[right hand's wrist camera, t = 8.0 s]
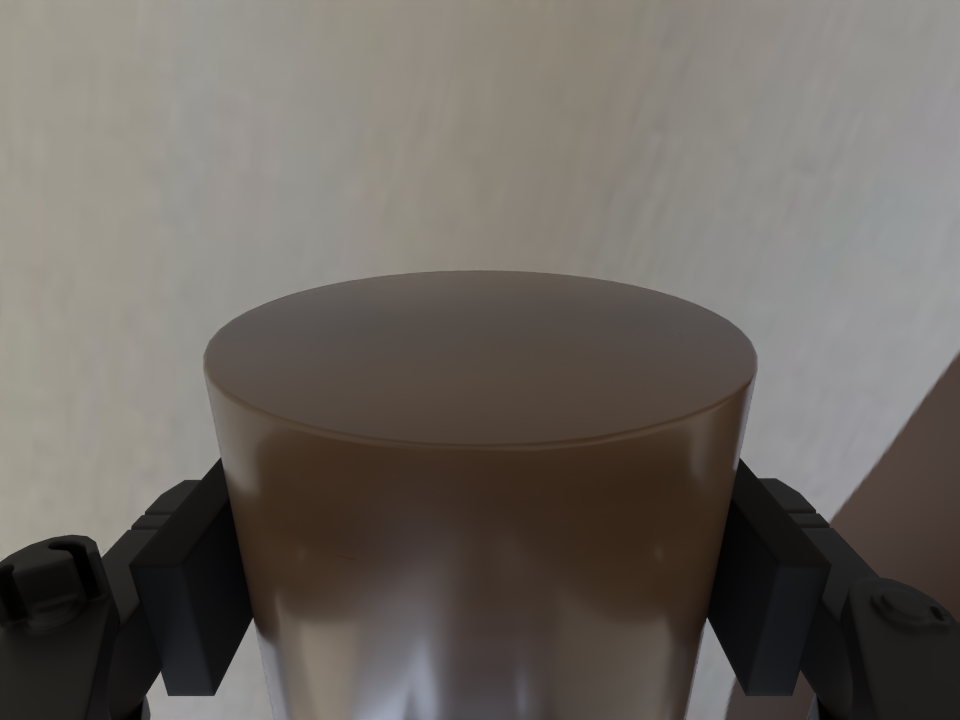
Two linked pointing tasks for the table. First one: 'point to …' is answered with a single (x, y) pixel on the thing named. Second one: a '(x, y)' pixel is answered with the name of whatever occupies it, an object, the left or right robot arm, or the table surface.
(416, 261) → the table surface
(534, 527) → the rod
